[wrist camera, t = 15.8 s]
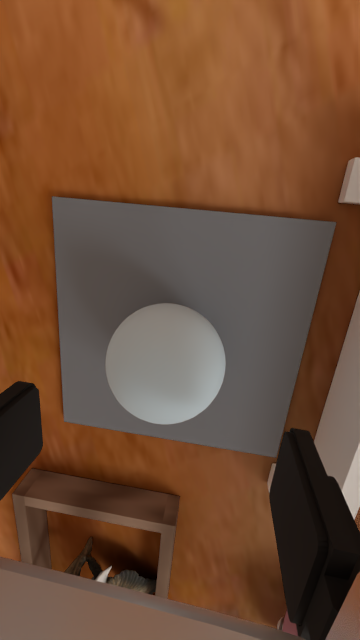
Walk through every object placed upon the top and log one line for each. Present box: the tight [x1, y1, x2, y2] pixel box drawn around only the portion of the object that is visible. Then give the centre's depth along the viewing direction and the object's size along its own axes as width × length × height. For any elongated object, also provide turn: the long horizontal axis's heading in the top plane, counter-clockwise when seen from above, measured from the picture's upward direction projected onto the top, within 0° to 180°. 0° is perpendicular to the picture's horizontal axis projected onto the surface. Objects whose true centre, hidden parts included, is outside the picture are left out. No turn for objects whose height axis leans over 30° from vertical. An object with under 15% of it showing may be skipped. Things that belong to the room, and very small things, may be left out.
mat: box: [52, 196, 336, 458], centre depth 19 cm, size 16×16×1 cm
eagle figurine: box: [64, 537, 157, 595], centre depth 25 cm, size 8×7×9 cm
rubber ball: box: [105, 303, 226, 424], centre depth 16 cm, size 6×6×6 cm
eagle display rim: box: [12, 468, 180, 599], centre depth 26 cm, size 13×16×2 cm
